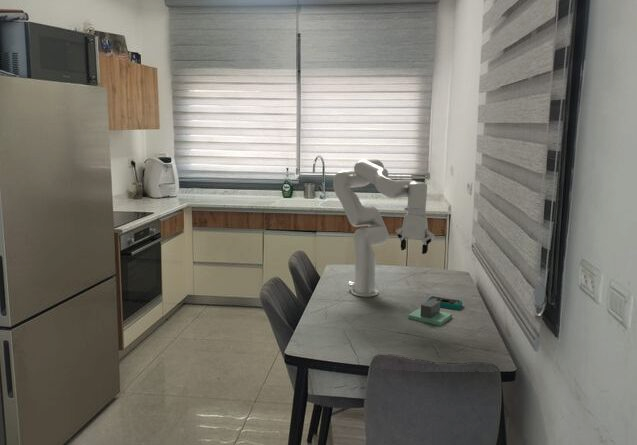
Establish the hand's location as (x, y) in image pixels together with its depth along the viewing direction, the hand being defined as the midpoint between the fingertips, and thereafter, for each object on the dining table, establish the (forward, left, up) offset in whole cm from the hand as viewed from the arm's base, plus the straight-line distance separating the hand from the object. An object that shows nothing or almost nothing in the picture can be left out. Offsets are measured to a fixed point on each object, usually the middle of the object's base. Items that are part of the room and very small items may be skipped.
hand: (413, 251), depth 230 cm
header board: (+11, -5, -26) cm, 28 cm away
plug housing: (+11, -5, -24) cm, 27 cm away
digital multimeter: (+9, +14, -26) cm, 31 cm away
